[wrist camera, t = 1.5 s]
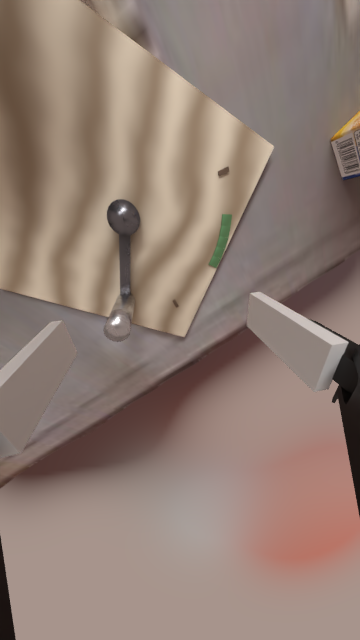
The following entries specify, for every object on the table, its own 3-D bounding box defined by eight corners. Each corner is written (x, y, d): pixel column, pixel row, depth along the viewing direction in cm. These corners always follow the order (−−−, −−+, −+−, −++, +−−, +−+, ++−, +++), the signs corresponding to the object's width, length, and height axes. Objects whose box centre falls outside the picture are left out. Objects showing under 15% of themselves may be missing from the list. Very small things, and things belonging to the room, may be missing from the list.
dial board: (-4, 283, 29) (-13, 286, 28) (-7, -51, 17) (-23, -80, 15) (183, 333, 40) (184, 338, 38) (268, 150, 27) (275, 145, 26)
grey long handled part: (109, 199, 25) (85, 181, 16) (140, 204, 26) (137, 190, 17) (113, 307, 33) (99, 341, 23) (138, 309, 34) (134, 341, 24)
